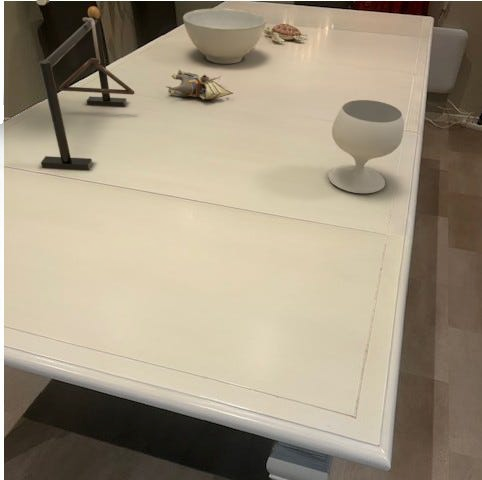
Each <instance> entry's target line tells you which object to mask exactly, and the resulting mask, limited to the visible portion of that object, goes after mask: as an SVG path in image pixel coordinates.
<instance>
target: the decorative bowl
mask: <svg viewBox="0 0 482 480" xmlns="http://www.w3.org/2000/svg"><path fill="white" fill-rule="evenodd" d="M182 20H183V24H184V28H185V31H186V33H187V35H188V37H189V39H190V40H191V42H192V44H193V45H194V47H195V48H196V49H197V50H198V51H199V52H200V53H202V54H203V55H204V56H205V58H206V60H207V61H209V62H212V63H215V64H221V65H222V64H223V65H225V64H226V65H231V64H236V63H239V62H241V61H242V60H243V58H244V56H246V55H248V54H249V53H250V52H252V50H253V49H254V48H255V47H256V46H257V44H258V42H259V41H260V39H261V37H262V35H263V33H264V30H265V28H266V24H267V19H266V18H265V17H264V16H263V15H261V14H258V13H257V12H252V11H249V10H244V9H237V8H236V9H235V8H225V7H223V8H220V7H217V8H214V7H213V8H201V9H200V8H199V9H195V10H191V11H188V12H186V13H185V14H184V15H183V16H182Z"/></svg>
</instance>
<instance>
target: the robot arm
mask: <svg viewBox="0 0 482 480" xmlns="http://www.w3.org/2000/svg"><path fill="white" fill-rule="evenodd" d="M48 3H50V0H36V4H37V5H39V6H45V5H47V4H48Z"/></svg>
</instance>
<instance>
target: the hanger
mask: <svg viewBox="0 0 482 480" xmlns="http://www.w3.org/2000/svg"><path fill="white" fill-rule="evenodd" d="M82 22H85V23H86V22H91V26H92V29H91V31H92V32H91V33H92V38H93V39H92V40H93V45H94V52H95V57H91V58H90V59H88V60H87V61H85V62H84V63H83V64H82V65H81V66H80V67H79V68H78V69H77V70H76V71H75V72H74V73H72V74H71V75H70V76H69V77H68V78H67V79H66V80H65V81H64V82H62V84H61V85H60V86H59V87H58V90H59V91H60V92H77V93H78V92H79V93H93V94H94V93H95V94H102V93H110V94H114V95H115V94H116V95H132V96H133V95H134V94H135V90H133V89H132V88H131V87H130V86H128V85H127V84H126V83H125V82H124V81H122V80H121V79H120V78H119V77H117V76H116V75H115V74H113V73H112V72H111V71H110V70H109V69H107V67H106V68H104V67H103V66H102V65H101V64H100V56H99V49H98V43H97V36H96V29H95V22H94V20H93V19H92V18H90V17H82ZM91 65H94V66H95V67H96V68H97V69H98V68H99V69H100V70H101V71H103V72H104V73H105V74H106V75H107V77H109V78H110V79H111V80H113V81H114V82H116V84H118V85H119V86H120V87H122V88H123V89H120V88H119V89H117V88H109V89H101V87H99V88H98V87H80V86H79V87H78V86H69V85H70V84H71V83H72V82H73V81H74V80H75V79H77V77H79V76H80V75H81V74H82V73H83V72H84V71H85V70H87V68H89V67H90V66H91Z"/></svg>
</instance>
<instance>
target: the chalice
mask: <svg viewBox="0 0 482 480" xmlns="http://www.w3.org/2000/svg"><path fill="white" fill-rule="evenodd" d="M404 128H405V124H404V117H403V114H402V111H401V110H400V109H399V108H397V107H396V106H394V105H391V104H389V103H386V102H382V101H378V100H372V99H371V100H369V99H357V100H352V101H351V100H350V101H348V102H346V103H344V104H343V105H342V106H341V107H340V109H339V111H338V112H337V114H336V116H335V119H334V121H333V124H332V127H331V135H332V139H333V141H334V144H335V145H336V146H337V147H338V148H339V149H340V150H342V151H343V152H344V153H346V154H348V155H349V156H351V157H352V158H353V159H354V164H355V165H353V164H352V165H350V164H349V165H346V164H345V165H341V166H337V167H335V168H333V169H331V170H330V171H329V173H328V179H329V182H331V183H332V185H334V186H335V187H337V188H339V189H341V190H344V191H346V192H350V193H356V194H371V193H376V192H379V191H381V190H383V188H384V187H385V185H386V180H385V179H384V177H383V175H381V174H380V173H379V172H377V171H376V170H374V169H371V168H369V167H365V165H366V163H367V162H368V161H370V160H372V159H378V158H382V157H385V156H388V155H390V154H392V153H393V152H394V151H396V150H397V149H398V148H399V147H400V145H401V144H402V140H403V137H404Z"/></svg>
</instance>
